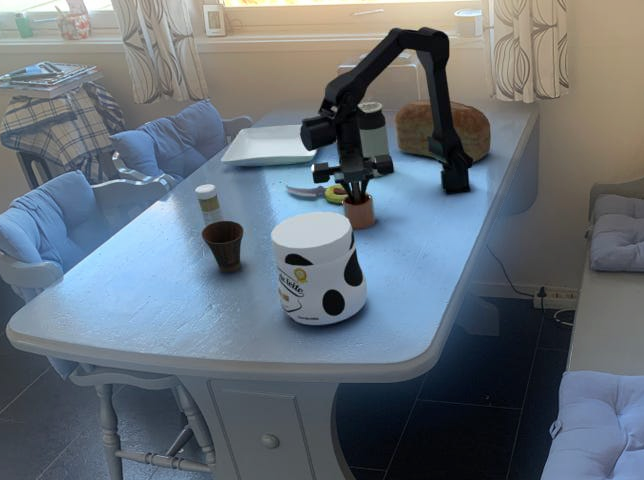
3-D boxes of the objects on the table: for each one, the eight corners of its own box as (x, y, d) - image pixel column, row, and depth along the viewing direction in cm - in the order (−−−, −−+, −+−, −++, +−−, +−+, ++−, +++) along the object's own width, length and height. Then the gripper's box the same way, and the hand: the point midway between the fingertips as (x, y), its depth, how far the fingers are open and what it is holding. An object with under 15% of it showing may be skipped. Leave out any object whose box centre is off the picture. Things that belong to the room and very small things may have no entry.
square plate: (317, 167, 215) (314, 154, 212) (222, 173, 216) (218, 160, 214) (329, 133, 236) (327, 121, 234) (243, 139, 238) (240, 127, 235)
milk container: (267, 327, 149) (246, 245, 139) (310, 283, 162) (294, 205, 151) (345, 340, 144) (330, 256, 133) (383, 293, 156) (372, 213, 146)
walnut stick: (363, 210, 184) (358, 178, 179) (363, 213, 182) (359, 182, 177) (355, 211, 183) (350, 180, 179) (355, 214, 182) (350, 183, 177)
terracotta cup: (373, 213, 188) (370, 191, 184) (376, 226, 182) (373, 203, 178) (344, 217, 187) (341, 195, 183) (346, 230, 181) (343, 207, 177)
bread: (414, 139, 227) (409, 91, 218) (497, 152, 214) (495, 101, 206) (391, 154, 219) (385, 104, 210) (476, 168, 206) (473, 115, 198)
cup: (233, 283, 164) (221, 242, 158) (204, 274, 168) (191, 234, 162) (261, 265, 170) (251, 224, 164) (232, 256, 174) (221, 217, 168)
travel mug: (396, 172, 208) (389, 106, 197) (371, 180, 205) (362, 113, 194) (382, 163, 213) (373, 99, 203) (357, 171, 210) (347, 106, 199)
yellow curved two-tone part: (275, 198, 199) (360, 207, 191) (273, 189, 197) (359, 198, 189) (290, 186, 205) (374, 194, 197) (288, 177, 203) (372, 185, 195)
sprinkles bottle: (226, 234, 184) (212, 182, 176) (231, 241, 181) (216, 188, 173) (207, 239, 183) (193, 186, 175) (211, 246, 179) (196, 193, 171)
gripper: (308, 157, 165) (320, 222, 174) (393, 146, 167) (400, 211, 176) (306, 139, 174) (318, 202, 183) (387, 129, 175) (395, 192, 185)
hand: (357, 202), depth 181 cm, fingers closed on walnut stick, 2 cm apart
